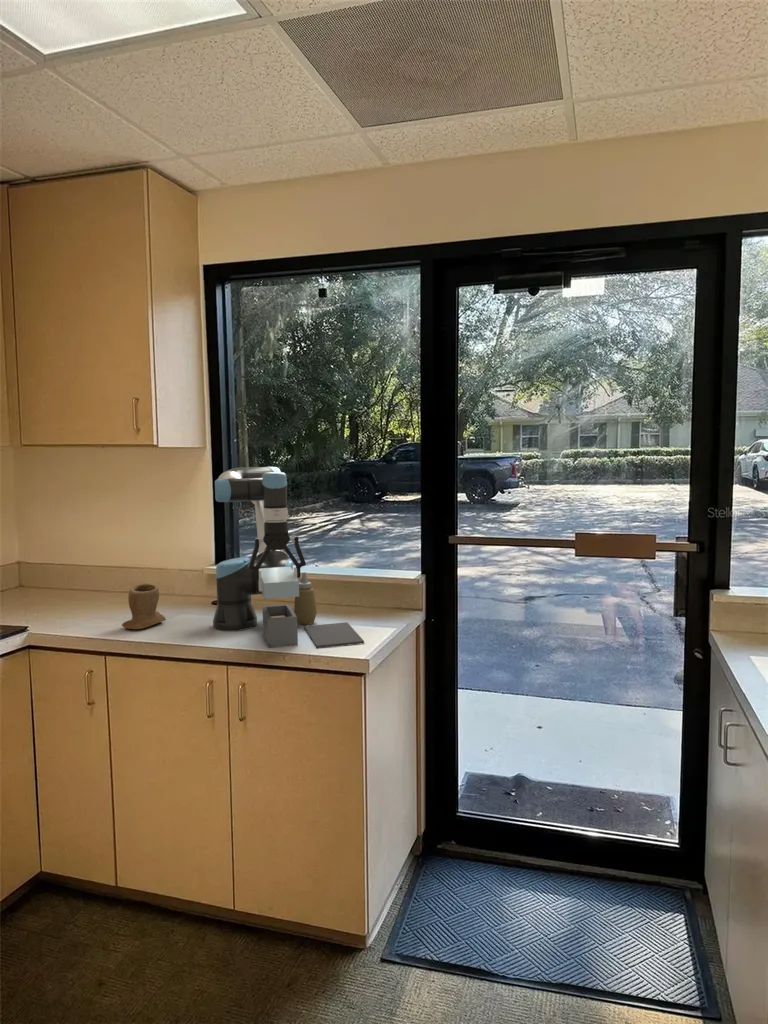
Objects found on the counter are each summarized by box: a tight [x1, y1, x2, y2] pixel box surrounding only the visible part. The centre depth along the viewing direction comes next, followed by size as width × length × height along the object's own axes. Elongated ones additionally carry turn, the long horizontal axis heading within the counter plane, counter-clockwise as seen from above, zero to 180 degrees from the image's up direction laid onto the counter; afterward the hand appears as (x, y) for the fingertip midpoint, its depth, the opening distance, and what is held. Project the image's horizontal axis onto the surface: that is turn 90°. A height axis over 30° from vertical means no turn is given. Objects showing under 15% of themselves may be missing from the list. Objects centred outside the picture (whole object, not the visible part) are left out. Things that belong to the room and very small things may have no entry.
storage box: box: [261, 604, 299, 649], centre depth 209 cm, size 18×9×9 cm, turn 16°
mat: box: [303, 621, 365, 649], centre depth 212 cm, size 24×15×1 cm, turn 16°
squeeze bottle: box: [293, 571, 318, 626], centre depth 228 cm, size 8×8×18 cm
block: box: [259, 567, 300, 600], centre depth 208 cm, size 20×11×5 cm, turn 16°
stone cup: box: [121, 583, 166, 630], centre depth 228 cm, size 15×12×15 cm
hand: (278, 589), depth 208 cm, fingers closed on block, 11 cm apart
